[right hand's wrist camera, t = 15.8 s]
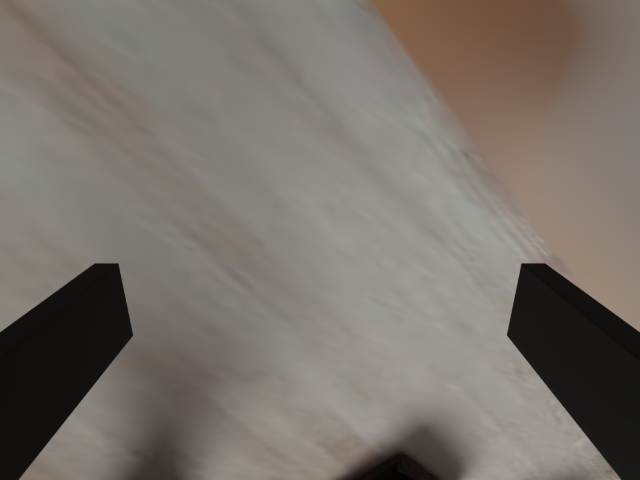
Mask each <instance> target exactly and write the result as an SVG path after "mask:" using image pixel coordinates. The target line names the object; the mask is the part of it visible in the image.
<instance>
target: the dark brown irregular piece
mask: <svg viewBox="0 0 640 480" xmlns="http://www.w3.org/2000/svg"><path fill="white" fill-rule="evenodd" d="M361 480H438V479H437V478H436V477H435V476H434V475H433V474H429V473H428V472H427V471H425V470H424V468H423V467H422V466H421V464H419V463H417V462H415V461H413V460H411V459H410V458H408V457H407V456H406V455H404V454H399V455H398V456H397V457H395V458H393V459H392V460H389V461H388V462H385V463H384V464H383V465H382V466H380V467H379V468H377V469H376V470H375V471H374V472H372V473H371V474H369V475H368V476H366V477H365V478H363V479H361Z"/></svg>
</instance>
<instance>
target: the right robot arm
mask: <svg viewBox="0 0 640 480" xmlns="http://www.w3.org/2000/svg"><path fill="white" fill-rule="evenodd" d="M132 336H133V333H132V328H131V323H130V318H129V313H128V308H127V303H126V298H125V293H124V289H123V284H122V279H121V274H120V269H119V264H118V263H95V264H93V265H92V266H91V267H89V268H88V269H87V270H85V271H84V272H82V273H81V274H80V275H78V276H77V277H76V278H74V279H73V280H71V281H70V282H69V283H67V284H66V285H65V286H63V287H62V288H60V289H59V290H58V291H56V292H55V293H54V294H52V295H51V296H49V297H48V298H47V299H45V300H44V301H43V302H41V303H40V304H38V305H37V306H36V307H34V308H33V309H32V310H30V311H29V312H27V313H26V314H25V315H23V316H22V317H21V318H19V319H18V320H16V321H15V322H14V323H12V324H11V325H10V326H8V327H7V328H5V329H4V330H3V331H1V332H0V480H19V478H20V477H21V476H22V475H23V473H24V472H25V471H26V470H27V468H28V467H29V466H30V465H31V463H32V462H33V461H34V460H35V458H36V457H37V456H38V455H39V453H40V452H41V451H42V450H43V448H44V447H45V446H46V444H47V443H48V442H49V441H50V439H51V438H52V437H53V436H54V434H55V433H56V432H57V431H58V429H59V428H60V427H61V426H62V424H63V423H64V422H65V421H66V419H67V418H68V417H69V415H70V414H71V413H72V412H73V410H74V409H75V408H76V407H77V405H78V404H79V403H80V402H81V400H82V399H83V398H84V397H85V395H86V394H87V393H88V392H89V390H90V389H91V388H92V386H93V385H94V384H95V383H96V381H97V380H98V379H99V378H100V376H101V375H102V374H103V373H104V371H105V370H106V369H107V368H108V366H109V365H110V364H111V363H112V361H113V360H114V359H115V357H116V356H117V355H118V354H119V352H120V351H121V350H122V349H123V347H124V346H125V345H126V344H127V342H128V341H129V340H130V339H131V337H132ZM507 336H508V337H509V339H510V340H511V341H512V342H513V344H514V345H515V346H516V347H517V349H518V350H519V351H520V352H521V354H522V355H523V356H524V357H525V359H526V360H527V361H528V363H529V364H530V365H531V366H532V368H533V369H534V370H535V371H536V373H537V374H538V375H539V376H540V378H541V379H542V380H543V381H544V383H545V384H546V385H547V386H548V388H549V389H550V390H551V392H552V393H553V394H554V395H555V397H556V398H557V399H558V400H559V402H560V403H561V404H562V405H563V407H564V408H565V409H566V410H567V412H568V413H569V414H570V415H571V417H572V418H573V419H574V421H575V422H576V423H577V424H578V426H579V427H580V428H581V429H582V431H583V432H584V433H585V434H586V436H587V437H588V438H589V439H590V441H591V442H592V443H593V444H594V446H595V447H596V448H597V450H598V451H599V452H600V453H601V455H602V456H603V457H604V458H605V460H606V461H607V462H608V463H609V465H610V466H611V467H612V468H613V470H614V471H615V472H616V473H617V475H618V476H619V477H620V478H621V480H640V332H639V331H637V330H636V329H634V328H633V327H632V326H630V325H629V324H628V323H626V322H625V321H623V320H622V319H621V318H619V317H618V316H617V315H615V314H614V313H613V312H611V311H610V310H608V309H607V308H606V307H604V306H603V305H602V304H600V303H599V302H597V301H596V300H595V299H593V298H592V297H591V296H589V295H588V294H586V293H585V292H584V291H582V290H581V289H580V288H578V287H577V286H575V285H574V284H573V283H571V282H570V281H569V280H567V279H566V278H564V277H563V276H562V275H560V274H559V273H558V272H556V271H555V270H553V269H552V268H551V267H549V266H548V265H547V264H545V263H522V264H521V269H520V274H519V279H518V284H517V289H516V293H515V298H514V303H513V308H512V313H511V318H510V323H509V328H508V333H507Z"/></svg>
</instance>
